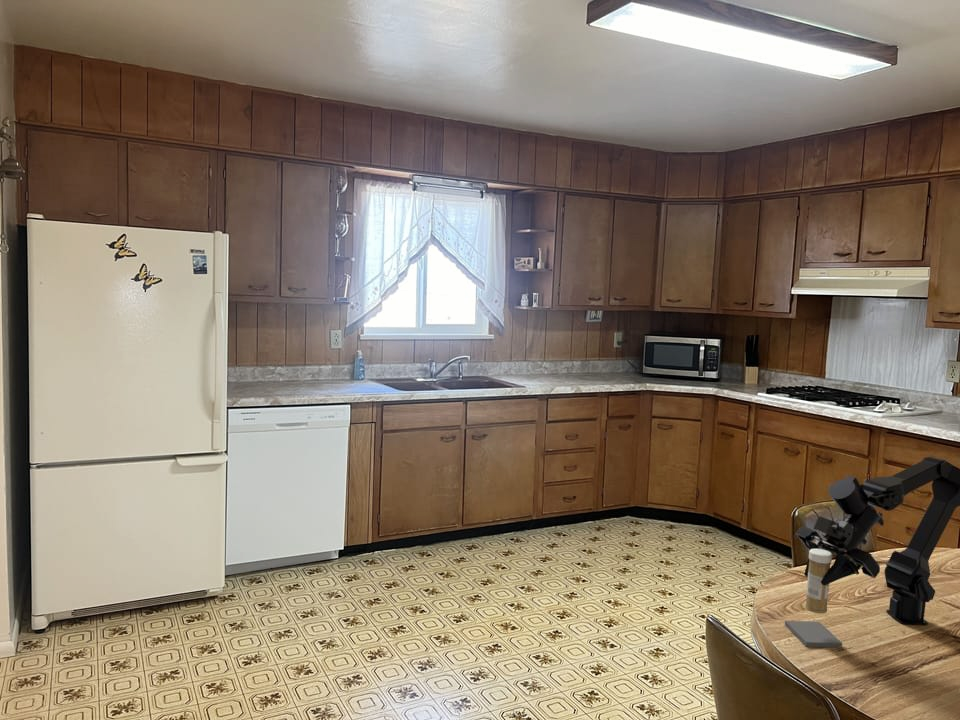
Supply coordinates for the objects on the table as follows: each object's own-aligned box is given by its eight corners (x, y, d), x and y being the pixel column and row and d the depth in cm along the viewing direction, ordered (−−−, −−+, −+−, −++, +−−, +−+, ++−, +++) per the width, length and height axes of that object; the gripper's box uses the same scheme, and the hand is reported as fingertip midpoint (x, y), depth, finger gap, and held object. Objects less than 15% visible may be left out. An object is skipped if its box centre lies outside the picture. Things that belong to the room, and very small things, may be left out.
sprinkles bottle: (831, 613, 158) (837, 554, 157) (815, 615, 157) (820, 556, 155) (816, 604, 162) (821, 547, 161) (799, 606, 161) (804, 548, 160)
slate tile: (818, 625, 165) (819, 621, 165) (841, 647, 155) (842, 643, 155) (784, 624, 165) (785, 620, 165) (805, 646, 155) (806, 642, 155)
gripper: (804, 492, 167) (764, 543, 164) (875, 517, 150) (831, 574, 147) (827, 522, 171) (788, 572, 168) (898, 549, 154) (856, 606, 151)
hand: (813, 580), depth 158 cm, fingers closed on sprinkles bottle, 4 cm apart
